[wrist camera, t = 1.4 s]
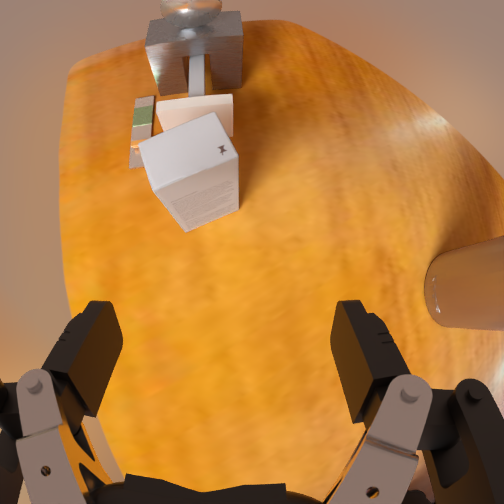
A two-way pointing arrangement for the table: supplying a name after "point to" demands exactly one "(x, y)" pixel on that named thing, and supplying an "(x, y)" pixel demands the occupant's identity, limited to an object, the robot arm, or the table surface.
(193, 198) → the skincare box
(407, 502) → the milk frother
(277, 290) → the table surface
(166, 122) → the gauge plunger
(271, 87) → the table surface
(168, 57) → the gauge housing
